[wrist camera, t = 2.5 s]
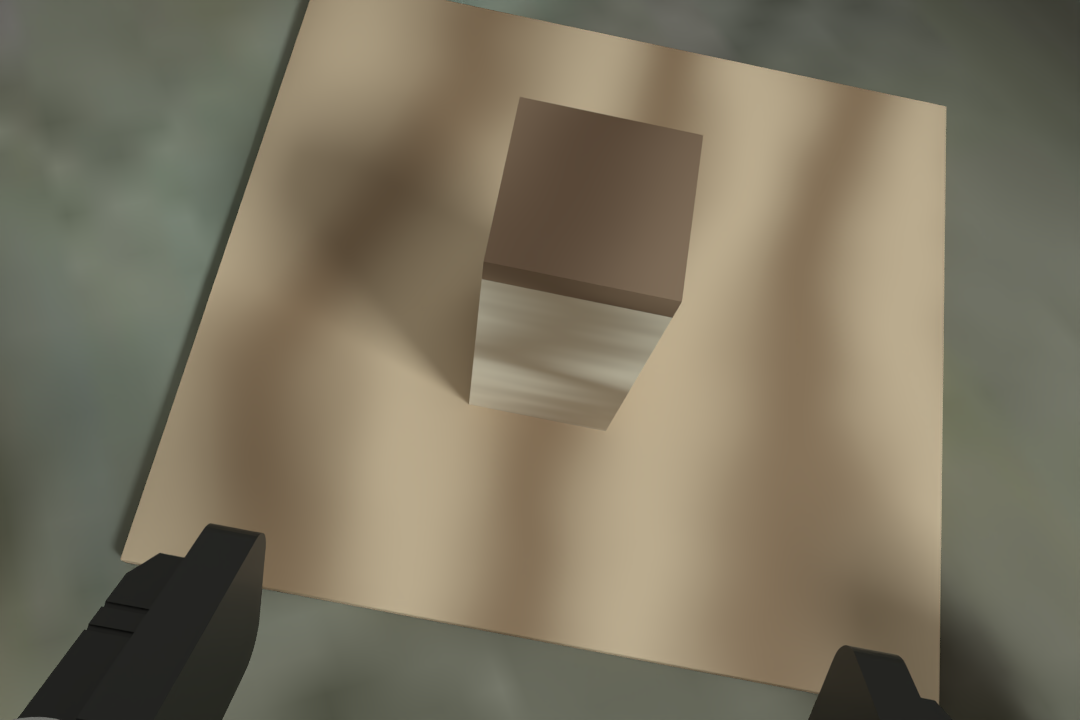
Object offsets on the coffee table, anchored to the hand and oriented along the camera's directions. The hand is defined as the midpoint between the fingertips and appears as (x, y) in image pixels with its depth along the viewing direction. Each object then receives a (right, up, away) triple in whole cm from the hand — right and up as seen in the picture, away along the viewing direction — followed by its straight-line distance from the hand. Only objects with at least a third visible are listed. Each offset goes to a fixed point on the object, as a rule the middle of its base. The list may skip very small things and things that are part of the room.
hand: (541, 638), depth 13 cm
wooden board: (+2, +5, +16) cm, 17 cm away
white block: (0, +4, +15) cm, 15 cm away
